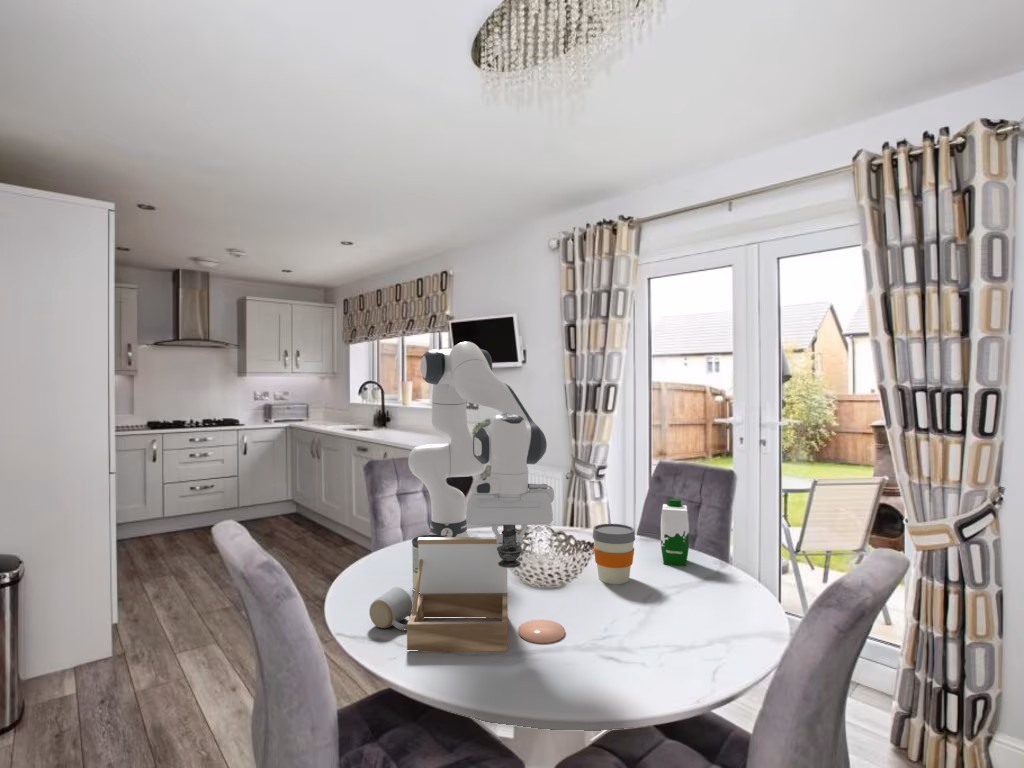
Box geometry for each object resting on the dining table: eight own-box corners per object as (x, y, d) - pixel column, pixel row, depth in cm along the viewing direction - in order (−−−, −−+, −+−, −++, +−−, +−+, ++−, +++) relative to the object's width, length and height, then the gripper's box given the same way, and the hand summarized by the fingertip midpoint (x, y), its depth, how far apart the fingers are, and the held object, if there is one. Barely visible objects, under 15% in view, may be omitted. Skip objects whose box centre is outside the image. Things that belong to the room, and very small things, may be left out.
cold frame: (419, 616, 138) (419, 592, 138) (507, 616, 138) (507, 592, 138) (407, 651, 120) (407, 624, 120) (507, 651, 120) (507, 623, 120)
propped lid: (420, 594, 138) (420, 534, 138) (507, 593, 139) (507, 534, 139) (410, 617, 125) (410, 551, 124) (507, 617, 125) (507, 551, 125)
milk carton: (688, 558, 183) (688, 498, 183) (689, 567, 174) (688, 504, 174) (661, 556, 186) (661, 497, 185) (660, 565, 177) (660, 503, 177)
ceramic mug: (366, 627, 132) (367, 595, 132) (388, 614, 140) (388, 584, 139) (402, 636, 128) (403, 603, 128) (422, 622, 135) (423, 591, 135)
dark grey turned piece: (508, 558, 132) (508, 508, 132) (527, 563, 128) (527, 512, 128) (491, 564, 128) (491, 512, 128) (510, 570, 124) (510, 516, 124)
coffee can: (417, 581, 163) (417, 533, 163) (451, 582, 162) (451, 534, 162) (407, 594, 152) (407, 544, 152) (443, 596, 151) (443, 545, 151)
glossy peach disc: (517, 622, 135) (517, 619, 135) (562, 621, 135) (562, 619, 135) (518, 643, 124) (518, 640, 124) (567, 643, 124) (567, 640, 124)
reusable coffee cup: (639, 586, 158) (639, 534, 158) (595, 586, 158) (595, 534, 158) (630, 571, 171) (630, 523, 171) (590, 571, 171) (590, 523, 171)
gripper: (553, 481, 131) (553, 539, 131) (467, 481, 131) (467, 539, 131) (554, 486, 125) (555, 547, 125) (465, 486, 125) (465, 547, 125)
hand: (509, 543), depth 128 cm, fingers closed on dark grey turned piece, 3 cm apart
